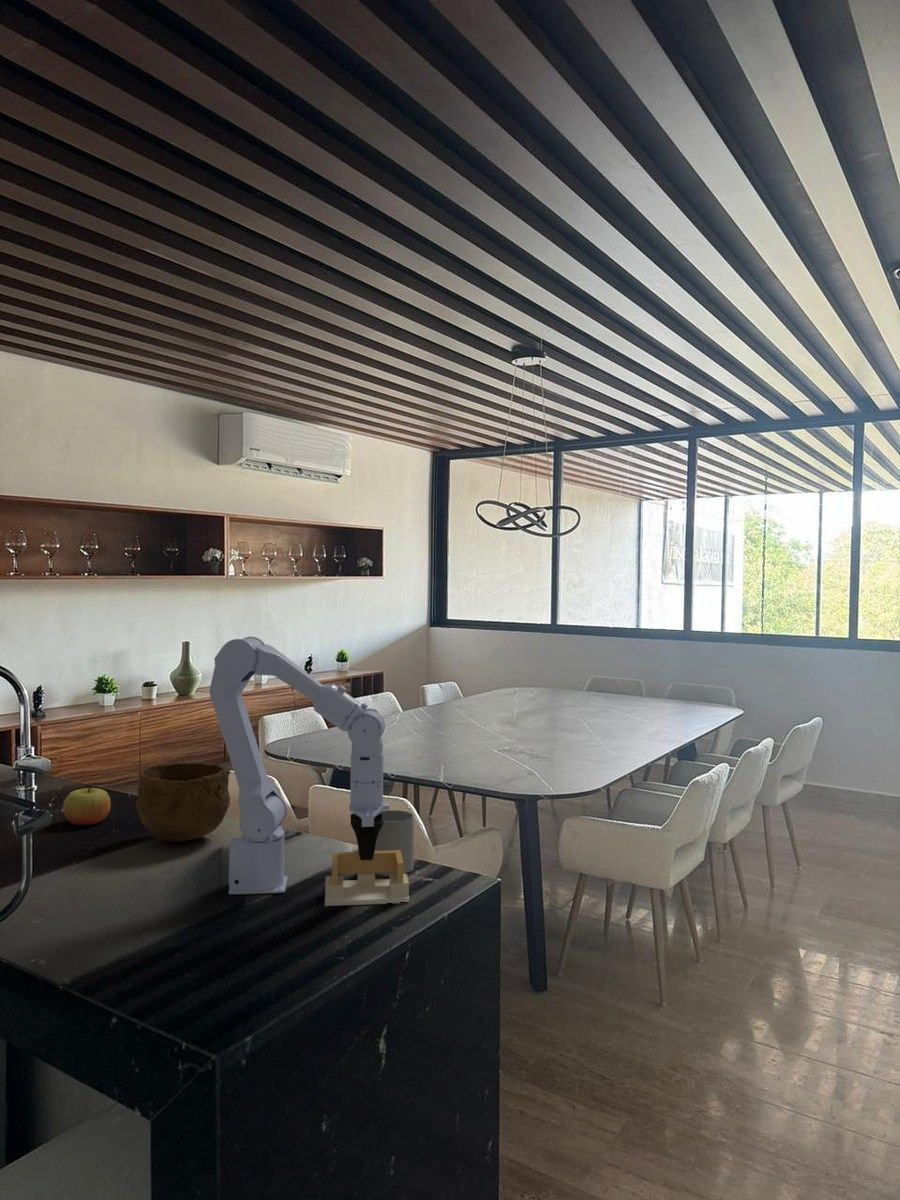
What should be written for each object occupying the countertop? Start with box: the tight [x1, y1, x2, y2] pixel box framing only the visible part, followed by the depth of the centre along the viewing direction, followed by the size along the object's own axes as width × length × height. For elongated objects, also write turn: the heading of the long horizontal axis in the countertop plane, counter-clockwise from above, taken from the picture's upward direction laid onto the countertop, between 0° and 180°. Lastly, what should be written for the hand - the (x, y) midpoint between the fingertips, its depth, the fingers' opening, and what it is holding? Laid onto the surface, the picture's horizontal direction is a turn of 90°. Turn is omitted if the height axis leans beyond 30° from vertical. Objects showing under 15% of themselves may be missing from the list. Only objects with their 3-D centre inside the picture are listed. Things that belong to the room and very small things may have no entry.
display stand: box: [324, 873, 410, 907], centre depth 149 cm, size 10×14×3 cm
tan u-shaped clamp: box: [331, 850, 404, 886], centre depth 149 cm, size 7×12×3 cm, turn 97°
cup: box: [375, 809, 415, 877], centre depth 163 cm, size 8×8×10 cm
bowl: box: [135, 761, 231, 843], centre depth 181 cm, size 19×19×15 cm
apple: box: [62, 787, 112, 826], centre depth 194 cm, size 10×10×8 cm
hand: (366, 857), depth 151 cm, fingers closed
